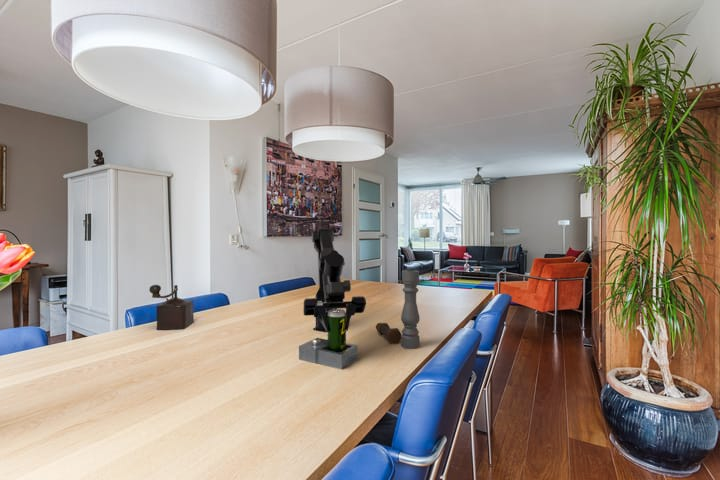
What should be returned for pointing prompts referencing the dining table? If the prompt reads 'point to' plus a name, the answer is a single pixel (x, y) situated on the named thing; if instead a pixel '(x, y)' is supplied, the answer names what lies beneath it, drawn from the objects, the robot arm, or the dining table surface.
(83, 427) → the dining table surface
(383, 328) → the bolt
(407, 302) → the turned furniture leg
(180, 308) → the manual coffee grinder
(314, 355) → the jig
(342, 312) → the beer can
